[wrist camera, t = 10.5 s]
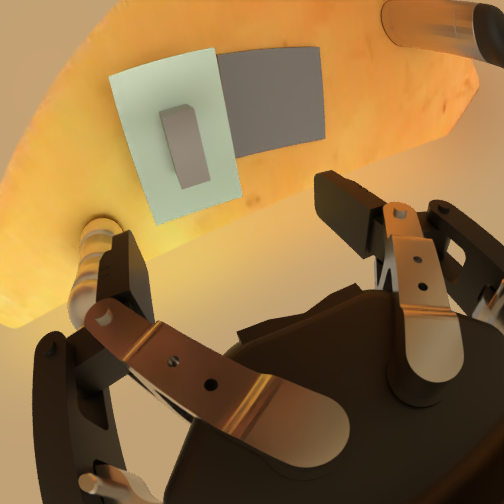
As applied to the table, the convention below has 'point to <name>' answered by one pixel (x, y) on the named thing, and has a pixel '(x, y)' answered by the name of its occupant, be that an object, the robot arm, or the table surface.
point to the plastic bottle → (89, 267)
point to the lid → (178, 133)
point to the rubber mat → (272, 97)
